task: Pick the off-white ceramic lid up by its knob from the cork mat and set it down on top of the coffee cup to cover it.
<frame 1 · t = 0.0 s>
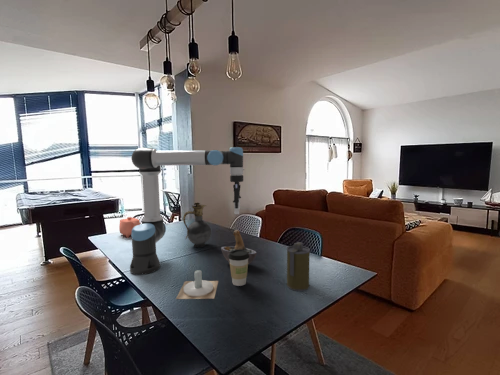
hand: (237, 211, 152), 28 cm above the table, fingers open, 13 cm apart
coffee cup: (239, 283, 124), on the table
lid: (198, 289, 118), resting on mat
canister: (297, 286, 121), on the table
teapot: (130, 235, 206), on the table
mat: (198, 290, 118), on the table
planter: (238, 265, 146), on the table
pitcher: (197, 246, 178), on the table
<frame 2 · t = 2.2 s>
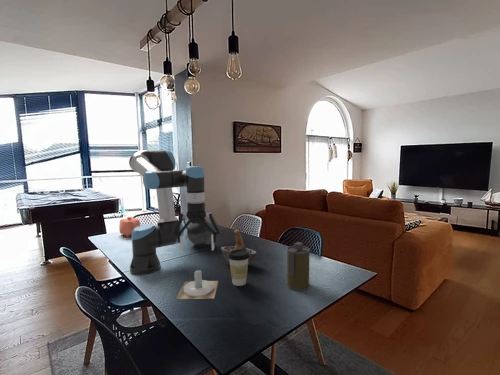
hand: (197, 249, 116), 19 cm above the table, fingers open, 13 cm apart
nothing on the table moved.
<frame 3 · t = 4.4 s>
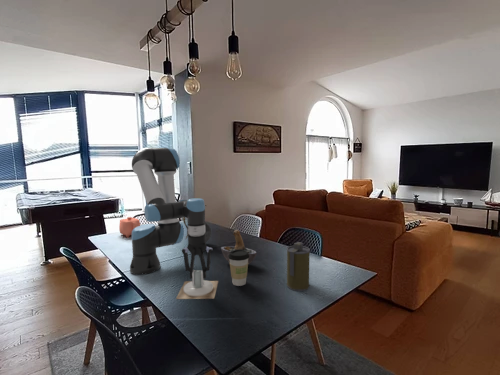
hand: (198, 285, 118), 2 cm above the table, fingers closed on lid, 3 cm apart
lid: (198, 289, 118), resting on mat, touching gripper
everything else where it was.
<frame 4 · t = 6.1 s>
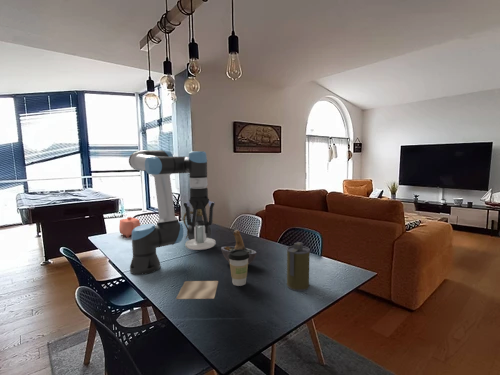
hand: (200, 240, 116), 23 cm above the table, fingers closed on lid, 3 cm apart
lid: (200, 244, 116), point 21 cm above the table, touching gripper
everything else where it was.
when the fingers open (18 cm above the table, at t = 7.9 s): lid drops 1 cm, resting on coffee cup.
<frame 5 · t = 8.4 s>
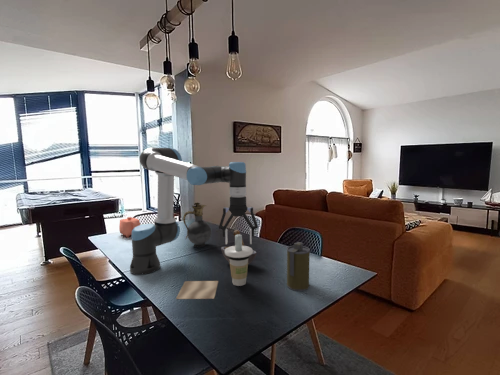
hand: (238, 243, 122), 19 cm above the table, fingers open, 10 cm apart
coffee cup: (239, 283, 124), on the table, touching lid
lid: (238, 252, 123), point 15 cm above the table, touching coffee cup
everything else where it was.
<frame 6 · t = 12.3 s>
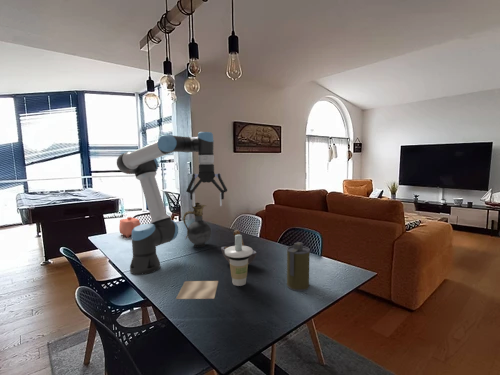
hand: (207, 206, 133), 35 cm above the table, fingers open, 13 cm apart
nothing on the table moved.
at the end: lid 0.1 cm from the coffee cup (horizontally); lid point 15.0 cm above the table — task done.
